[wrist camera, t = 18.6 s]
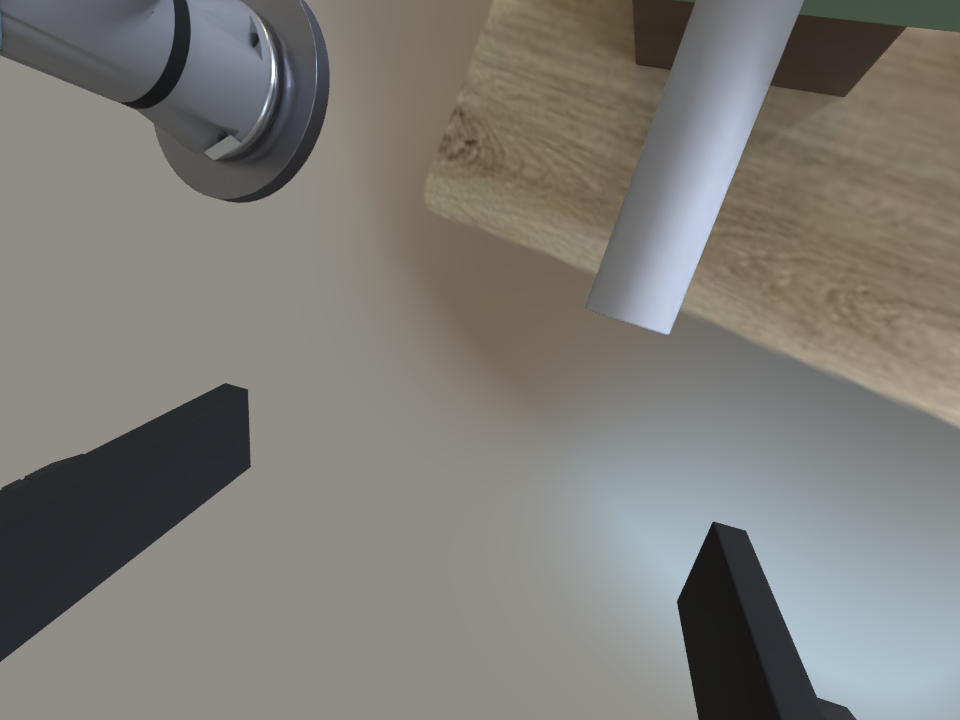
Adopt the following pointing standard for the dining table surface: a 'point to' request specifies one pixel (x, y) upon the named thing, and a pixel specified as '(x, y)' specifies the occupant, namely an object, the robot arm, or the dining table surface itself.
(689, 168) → the drawer
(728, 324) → the dining table surface
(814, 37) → the cabinet
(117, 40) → the robot arm
